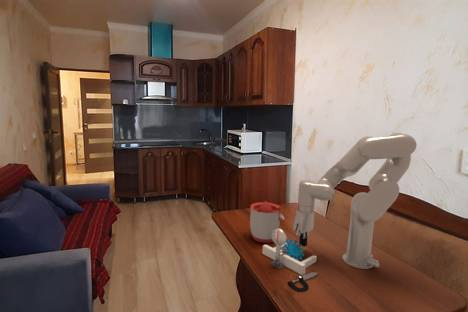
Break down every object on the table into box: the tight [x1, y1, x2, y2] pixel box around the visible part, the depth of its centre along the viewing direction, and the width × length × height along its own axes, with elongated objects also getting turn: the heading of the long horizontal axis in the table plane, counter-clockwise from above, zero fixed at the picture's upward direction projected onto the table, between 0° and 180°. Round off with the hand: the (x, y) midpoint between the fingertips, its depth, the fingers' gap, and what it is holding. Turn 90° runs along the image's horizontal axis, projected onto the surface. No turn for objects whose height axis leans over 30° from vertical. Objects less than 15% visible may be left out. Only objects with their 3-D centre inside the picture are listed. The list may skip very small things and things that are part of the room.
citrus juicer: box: [249, 201, 285, 244], centre depth 146 cm, size 16×17×20 cm
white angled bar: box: [262, 243, 317, 276], centre depth 127 cm, size 22×14×4 cm, turn 41°
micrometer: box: [287, 271, 318, 293], centre depth 109 cm, size 15×7×2 cm, turn 119°
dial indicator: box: [269, 227, 288, 270], centre depth 121 cm, size 7×6×16 cm
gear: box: [283, 238, 306, 261], centre depth 130 cm, size 11×6×10 cm
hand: (302, 245), depth 132 cm, fingers closed
